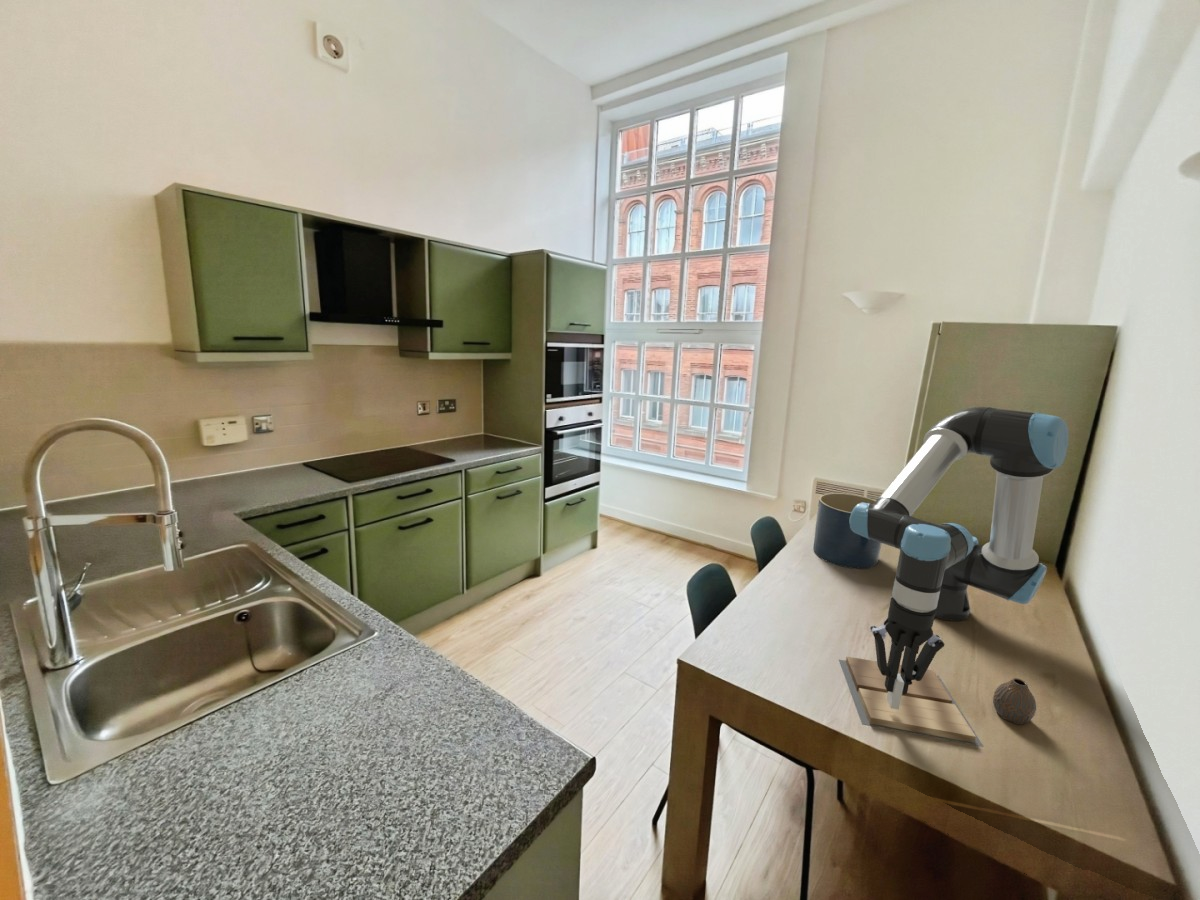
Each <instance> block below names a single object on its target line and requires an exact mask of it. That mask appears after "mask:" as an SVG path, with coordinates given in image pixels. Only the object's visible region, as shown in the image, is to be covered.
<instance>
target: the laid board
mask: <svg viewBox="0 0 1200 900" xmlns="http://www.w3.org/2000/svg"><path fill="white" fill-rule="evenodd" d="M845 661H846V664H847V666H848V669H849V672H850V674H851V677H852V680H853V682H854V685H855V687H856V690H859V688H862V689H868V690H873V691H879V692H885V693H888V691H887V689H886V687H885V680H886V676H884V675H882V674H881V672H880V670H879V668H878V665H877V660H871V659H865V658H859V657H851V656H846V658H845ZM887 664H888V662H887ZM901 665H902V664H900V665H899V670H898V674H900V675H901V673H900V670H901ZM911 681H912V684H911V685H909V686H908V691H907V693H906V694H902V695H903V696H908V697H914V698H920V699H926V700H932V701H937V702H943V703H949V704H952V701H953V700H952V699H951V697H950V696H949V694H948V693H947V691H946V689H945V688H944V686H943V685H942V683H941V681H940V680H939V678H938V677H937V673H936V671H935V670H934V669H927V670H926V672H925V674H924V676H923V678H922V679H921V681H916V680H911Z"/></svg>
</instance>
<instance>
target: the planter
mask: <svg viewBox="0 0 1200 900" xmlns="http://www.w3.org/2000/svg"><path fill="white" fill-rule="evenodd" d="M876 500H877V499H874V498H873V499H872V498H870V497H866V496H862V495H858V494H851V493H842V492H841V493H839V492H838V493H837V492H836V493H835V492H834V493H832V492H831V493H825V494H822V495H820V496H819V498H818V504H817V512H816V520H815V521H816V522H815V529H814V538H813V552H814V554H815V555H816V556H817V557H819V558H820V559H822V560H823V561H825V562H827V563H831V564H832V565H836V566H839V567H844V568H848V569H849V568H850V569H858V570H859V569H860V570H863V569H870V568H873V567H875V566H877V565H878V562H879V558H880V553H881V549H882V545H883V543H880V542H877V541H875V540H872V539H867V538H865V537H863V536H861V535H859V534H856V533H854V532H853V531H852V530H851V528H850V523H849V520H850V515H851V512H852V510H853V508H854V507H855V506H856V505H857V504H860V503H862V502H864V503H870V504H874V502H875V501H876Z"/></svg>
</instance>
